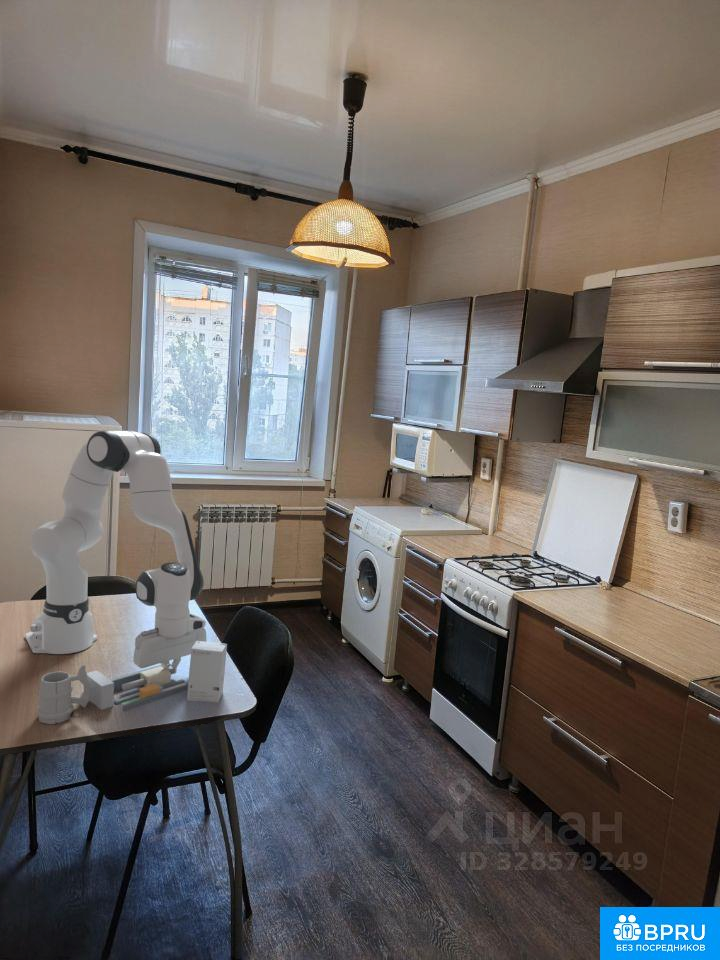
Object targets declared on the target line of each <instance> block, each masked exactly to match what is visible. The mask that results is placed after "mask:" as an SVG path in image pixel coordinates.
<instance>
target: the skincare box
mask: <svg viewBox="0 0 720 960" xmlns="http://www.w3.org/2000/svg"><path fill="white" fill-rule="evenodd" d="M227 649H228V644H227V643H221V642H214V641H206V642H204V641H196V642H195V644H194V645H193V647H192V648H191V654H190V661H189V673H188V683H187V684H188V689H187V695H186V701H196V702H197V701H199V702H208V703H209V702H210V703H211V702H212V703H219V702H220V700H221V697H222V696H223V693H224V682H225V673H226V672H225V671H226V661H227V660H226V659H227Z"/></svg>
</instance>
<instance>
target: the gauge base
mask: <svg viewBox="0 0 720 960" xmlns="http://www.w3.org/2000/svg"><path fill="white" fill-rule="evenodd" d="M171 664H172V663H170V662H169V664H167V665H168V667H169V666H171ZM160 666H161V667H163V666H162V664H160V665H159V664H158V665H154V666H152V667H149V668H148V667H147V668H144V669H142V670H137V671H135V672H131V673H127V674H124V675H120V676H118V677H113V678H108V677H106V676H105V675H104V674H103V673H101V672H100V671H98V670H97V669H96V670H93V671H90V672H87V676H88V678H89V680H90V683H91V686H92V692H91V699H90V701H89V702H90V703H92V704H93V705H95V706H96V707H97V708H98V709H99V710H101V711H103V710H105V709H109V708H111V707H114V703H115V704H116V705H118V704H121V705H122V710H123V711H126V710H130V709H131V708H135V707H138V706H141V705H144V704H148V703H149V702H150V703H151V702H153V701H157V700H159V699H162V698H166V697H169V696H170V695H171V696H172V695H174V694H178V693H181V692H184V691H188V683H186V684H185V682H186V681H185V680H184V679H183V678H181V679H177V680H175V681H172V682H171V683H168V684H165V685H162V687H163V692H160V693H158V694H155V695H152V696H149V697H145V698H142V699H140V698H139V692H136V693H133V694H131V695H127V696H124V697H120V698H117V699H114V695H115V693H114V692H115V691H117V690H120V689H121V690H122V684H125V683H129V682H132V681H136V680H139V679H140V672H143V671H146V670H150V669H153V668H157V667H160Z"/></svg>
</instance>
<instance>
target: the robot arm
mask: <svg viewBox="0 0 720 960" xmlns="http://www.w3.org/2000/svg"><path fill="white" fill-rule="evenodd" d="M161 452H162V450H161V445H160V443H159V441H158V439H157V438H155V437H154V436H153V435H151V434H148V433H147V432H138V431H135V430H134V431H133V430H128V429H127V430H111V429H105V430H103V429H102V430H99V431H96V432H95V433H93V434H92V435H91V436H90V437H89V438H88V441H87V442H85V443H84V444H83V445H82V447H81V448H80V450H79V452H78V453H77V455H76V457H75V458H74V462H73V464H72V466H71V468H70V471H69V474H68V476H67V479H66V482H65V485H64V487H63V490H62V493H61V496H62V497H61V498H62V500H63V501H64V503H65V511H64V514H63V516H62V517H61V518H60V519H55V520H53V521H48V522H45V523H44V524H42V525H41V526H39V527H38V528H36V529H35V530H33V532H32V533H31V535H30V537H29V542H28V543H29V547H30V550H31V553H33V555H34V557H36V558H37V559H38V560H40V561H41V564H42V566H43V569H44V574H45V577H46V578H45V580H46V583H45V584H46V585H45V587H46V598H45V599H44V600H45V601H44V603H43V609H42V612H41V613H40V614H39V615H38V616H36V617H35V618H34V621H33V624H30V627H29V628H30V631H29V632H26V633H25V635H24V639H25V640H26V643H27V644H28V646H29V647H30V650H31V651H32V653H34V654H51V655H67V654H68V655H69V654H73V653H79V652H82V651H85V650H86V649H89V648H90V647H92V645H93V643H94V642H95V641H97V640H98V635H97V634H95V633H94V619H93V618H94V616H93V614H92V613H91V612H90V611H89V608H90V599H89V597H88V583H89V582H88V581H89V580H88V579H89V578H88V577H89V574H88V573H87V571H86V570H85V569H84V568H82V566H81V563H80V560H79V553H81V552H82V551H85V550H89V549H90V548H92V547H93V546H94V545H95V544H97V543H98V542H99V541H100V540H101V539H102V538H103V534H104V527H103V524H102V521H101V509H102V506H103V502H104V499H105V496H106V495H107V491H108V488H109V485H110V483H111V480H112V478H113V474H114V472H115V473H118V472H120V471H123V472H125V473H126V475H127V476H128V480H129V495H130V499H129V500H130V506H131V511H132V513H133V514H134V516H135V517H136V518H137V519H138V520H139V521H141V522H142V523H144V524H147V525H149V526H153V527H155V528H158V529H162V530H163V531H165V532H167V533H168V534H169V535H170V536H171V537H172V541H173V546H174V549H175V553H176V558H177V561H178V562H173V561H172V562H165V563H163V564H161V565H160V566H159V567H158V568H155V569H148V570H146V571H142V572H141V573H140V574H139V575H138V577H137V580H136V582H135V595H136V596H135V597H136V598H137V600H138V601H139V602H141V603H142V604H144V605H145V606H149V607H155V613H154V628H152V629H149V630H144V631H141V632H140V634H138V635H137V636H136V637H135V639H134V640H135V641H134V642H135V645H134V651H133V658H132V660H133V664H134V665H135V666H137V667H138V668H140V669H146V668H148V667H149V668H150V667H151V666H152V667H153V666H157V665H159V664H160V665H162V666H163V668H164V669H166V670H168V671H169V672H171V676H172V675H174V674H177V669H178V667H179V664H180V663H181V661H182V658H183V657H187V656H191V648H192V647H193V645H194V644H195V642H196V641H204V642H207V630H206V628H205V627H206V623H207V622H206V620H205V619H203V618H201V617H199V616H197V615H196V614H192V613H190V609H189V604H190V601H193V600H194V601H195V600H196V599H197V597H198V596H199V595H200V594H201V593H202V591H203V588H204V586H205V585H204V583H205V582H204V581H205V580H204V575H203V574H202V570H201V569H200V565H199V563H198V560H197V559H198V558H197V555H196V551H195V546H194V542H193V538H192V533H191V529H190V525H189V523H188V519H187V516H186V514H185V512H184V511H183V510H182V509H181V508H179V507H178V506H177V504H176V501H175V499H174V495H173V486H172V479H171V478H172V477H171V472H170V468H169V465H168V462H167V459H166V457H165V456H163V455H162V453H161ZM170 661H172V663H170ZM169 663H170V664H171V666H169V667H168V665H167V664H169Z"/></svg>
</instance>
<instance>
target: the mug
mask: <svg viewBox="0 0 720 960" xmlns="http://www.w3.org/2000/svg"><path fill="white" fill-rule="evenodd" d="M87 673H88V672H87V670H86V664H85V663H82V664H81V666H80V667H79V669H78V671H77V674H73V675H71V674H70V673H69V672H67V671H60V670H58V671H52V672H48V673H46V674H43V676H41V678H40V686H39V687H40V688H38V689H39V690H38V693H37V694H38V695H39V701H38V703H39V706H38V708H37V710H36V714H37V717H38V721H39V723H43V724H48V725H55V724H60V723H63V722H66V721H67V720H69V719H70V718H71V717H72V712H73V711H74V705H73V704H76V705H80V706H81V707H82V708H86V707H87V705H88V703H90V702H91V701H90V699H91V692H92V686H91V683H90V680H89V678H88V676H87ZM74 681H79V682H80V683H81V684H82V685H83V692H82V693H81V695H80V696H78V695H72V691H73V690H74V688H73V685H72V682H74Z"/></svg>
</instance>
